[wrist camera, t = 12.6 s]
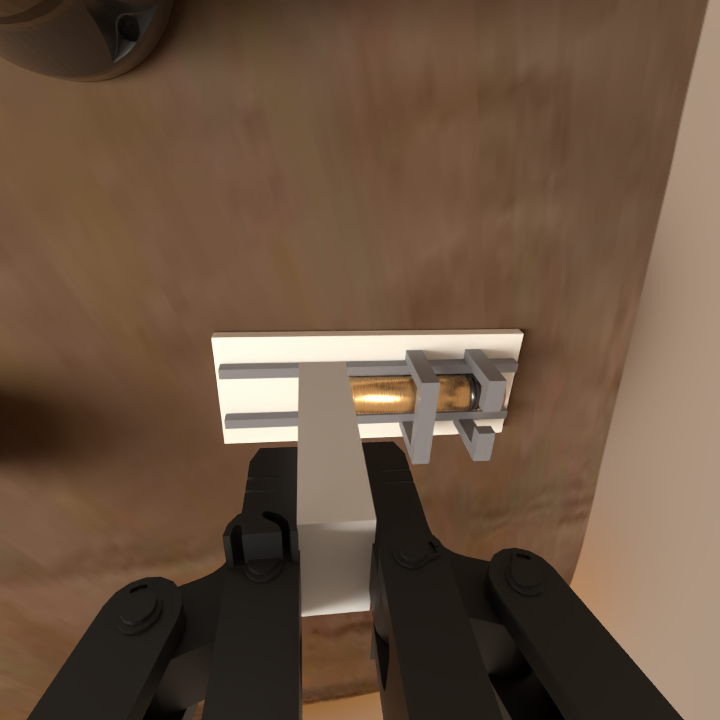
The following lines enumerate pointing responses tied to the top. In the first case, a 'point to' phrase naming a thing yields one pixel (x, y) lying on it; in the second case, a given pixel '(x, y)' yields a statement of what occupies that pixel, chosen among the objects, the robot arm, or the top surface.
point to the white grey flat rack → (366, 358)
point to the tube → (414, 393)
